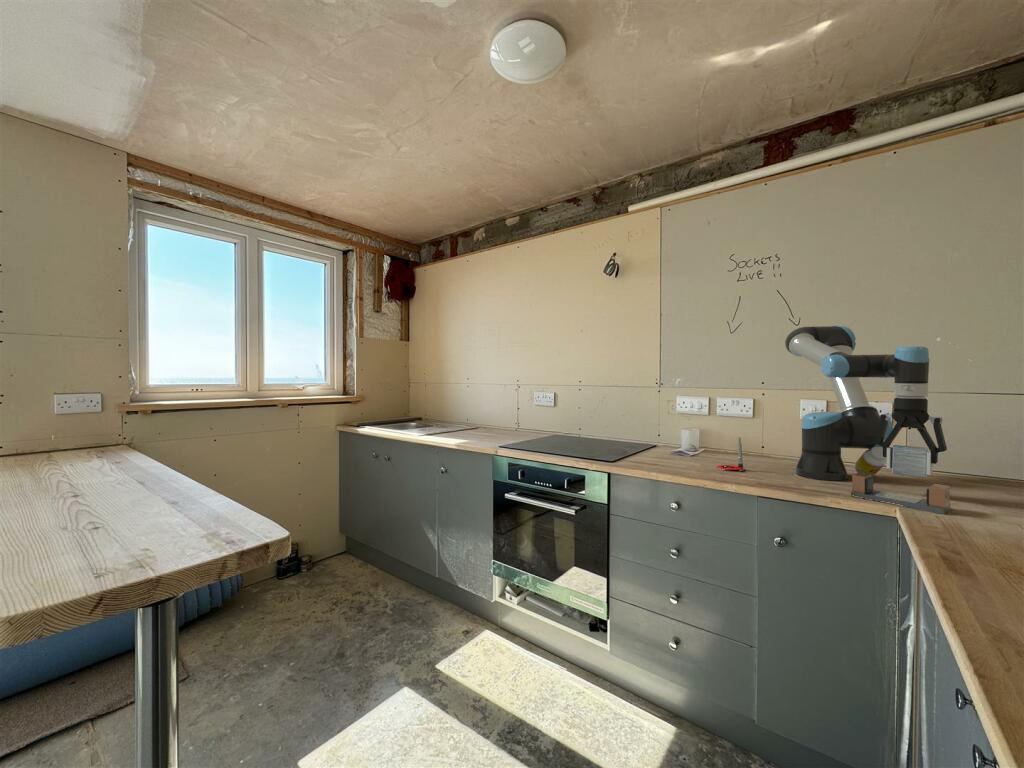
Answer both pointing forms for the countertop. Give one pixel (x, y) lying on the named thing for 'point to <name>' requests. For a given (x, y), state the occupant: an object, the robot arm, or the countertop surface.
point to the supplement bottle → (871, 461)
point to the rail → (933, 503)
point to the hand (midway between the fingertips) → (908, 470)
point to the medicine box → (910, 461)
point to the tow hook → (740, 459)
